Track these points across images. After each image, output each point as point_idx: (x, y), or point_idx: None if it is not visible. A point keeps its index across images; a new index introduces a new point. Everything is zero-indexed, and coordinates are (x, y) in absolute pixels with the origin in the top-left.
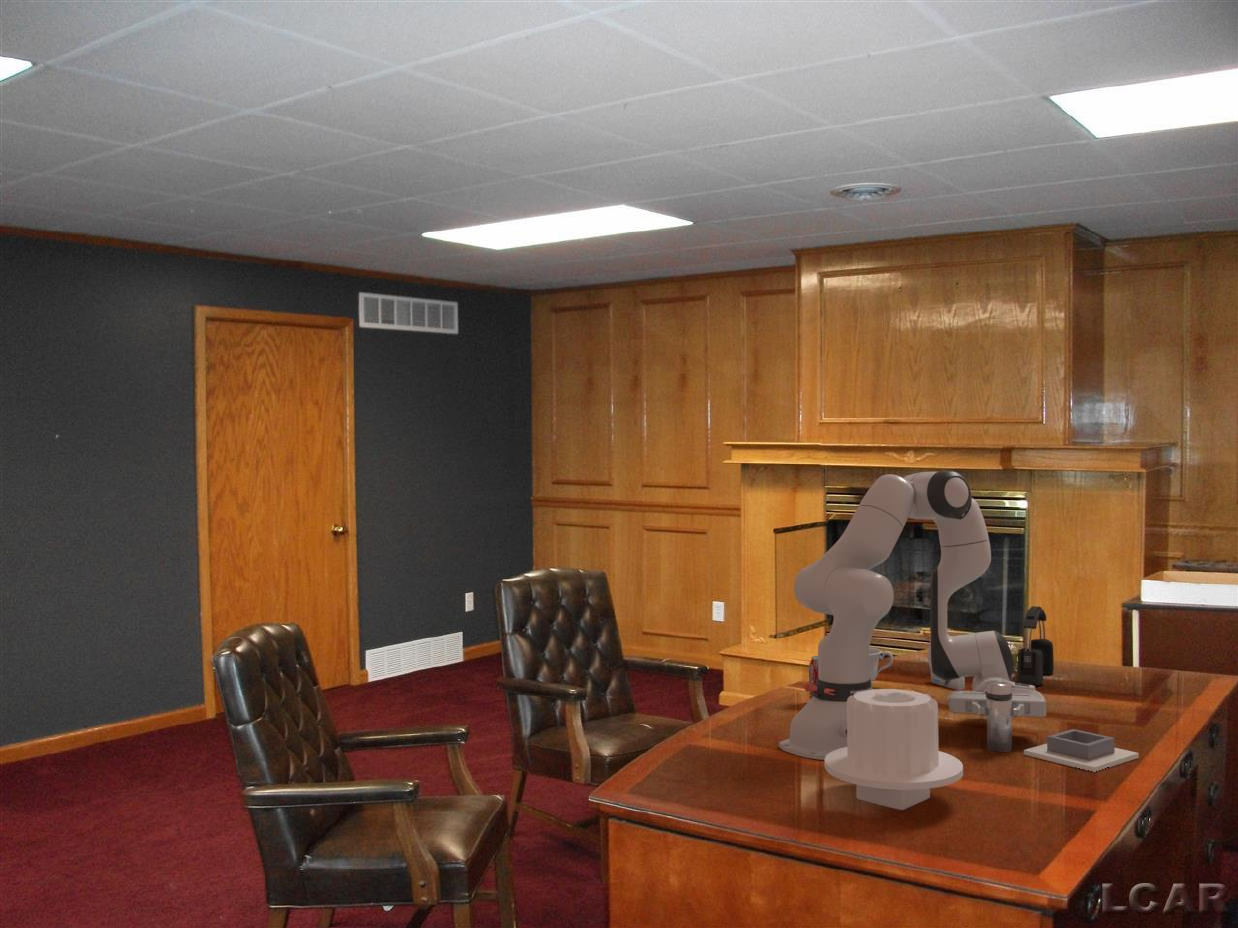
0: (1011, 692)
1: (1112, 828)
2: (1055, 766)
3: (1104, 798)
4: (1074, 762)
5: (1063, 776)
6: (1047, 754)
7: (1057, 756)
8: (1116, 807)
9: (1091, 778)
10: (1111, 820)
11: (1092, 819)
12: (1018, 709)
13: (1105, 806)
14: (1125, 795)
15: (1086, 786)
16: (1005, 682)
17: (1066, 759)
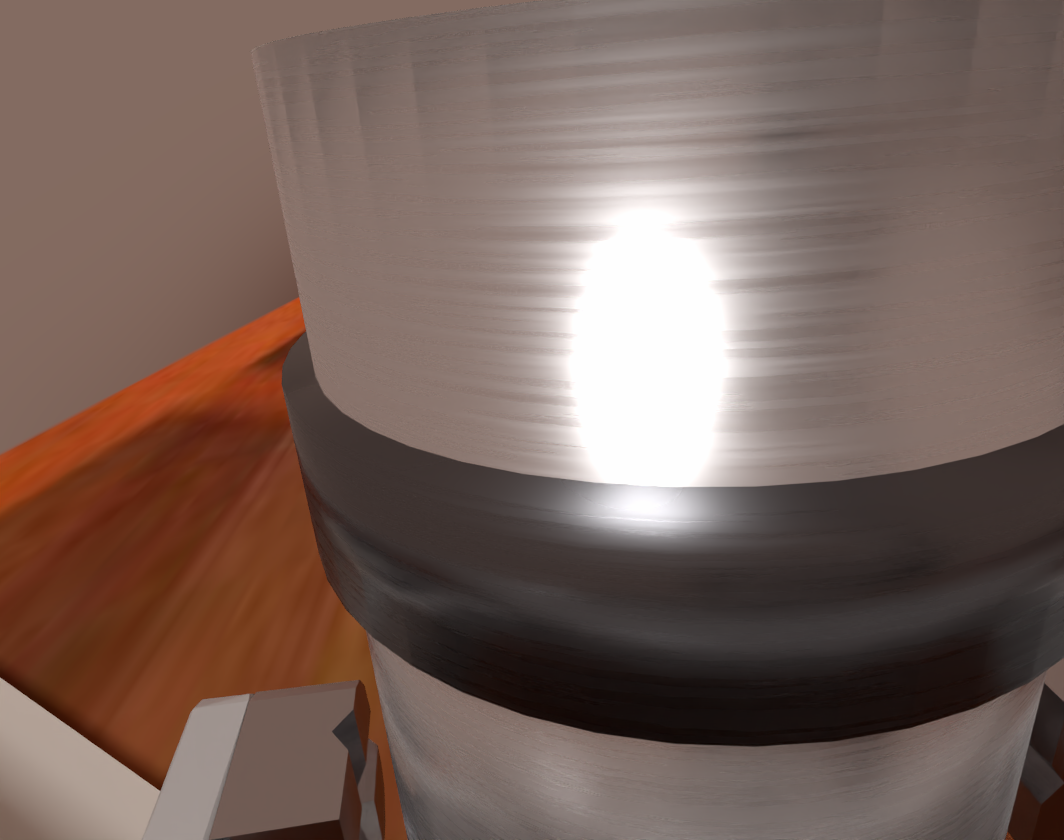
0: (301, 363)
1: (257, 324)
2: (171, 695)
3: (160, 423)
4: (10, 686)
5: (210, 554)
6: (131, 829)
7: (61, 792)
8: (165, 390)
9: (57, 568)
10: (235, 343)
11: (286, 337)
12: (244, 696)
13: (199, 387)
14: (49, 457)
15: (161, 485)
16: (433, 30)
17: (29, 734)
